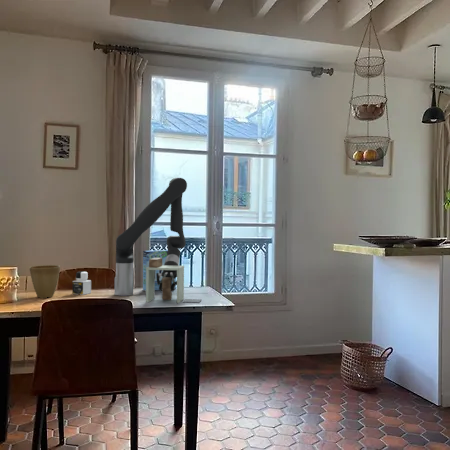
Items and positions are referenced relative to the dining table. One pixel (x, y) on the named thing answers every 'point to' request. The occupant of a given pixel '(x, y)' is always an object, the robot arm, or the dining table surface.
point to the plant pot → (45, 279)
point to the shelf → (151, 281)
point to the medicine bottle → (81, 284)
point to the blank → (166, 288)
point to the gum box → (146, 257)
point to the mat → (192, 300)
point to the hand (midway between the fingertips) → (166, 290)
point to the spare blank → (155, 262)
